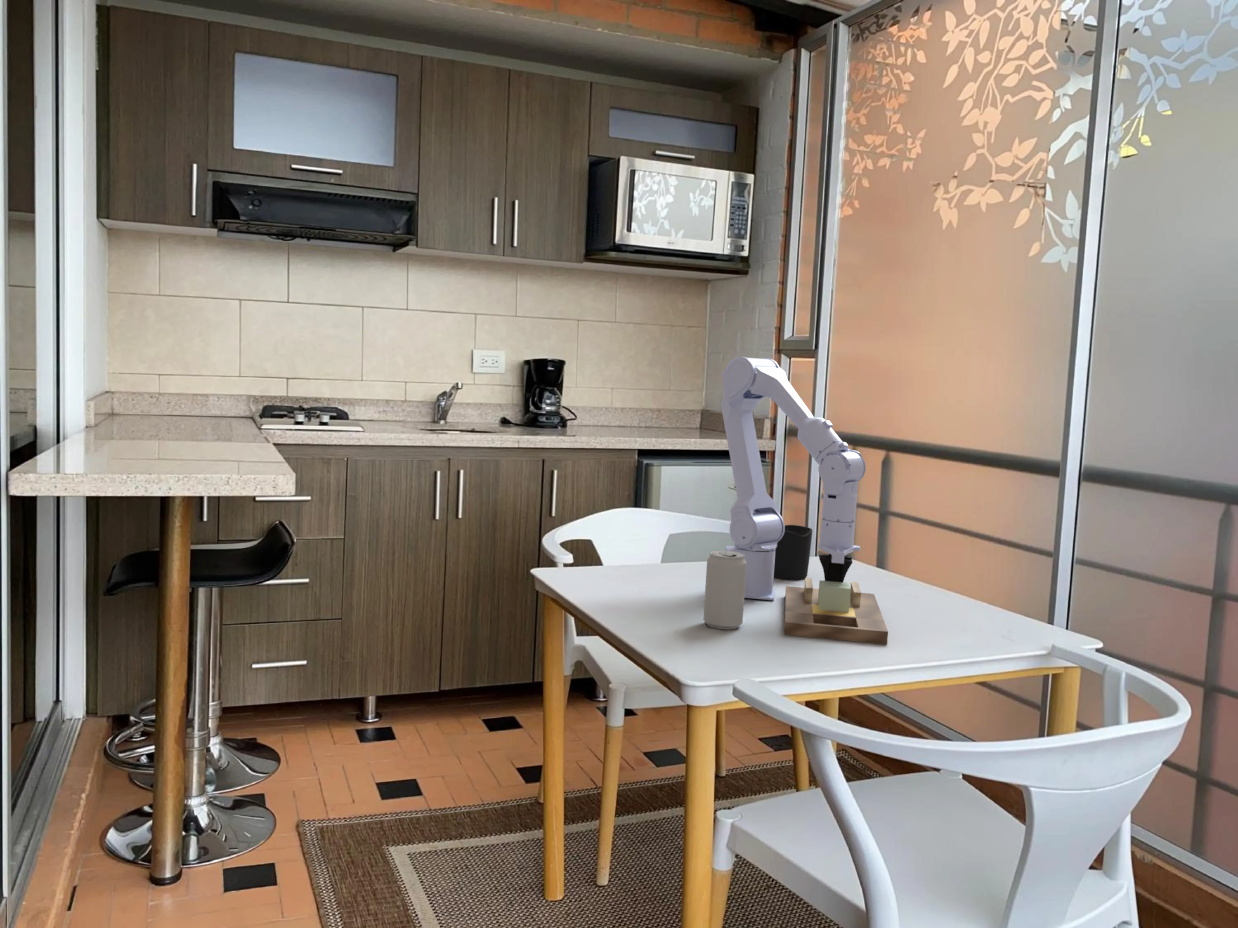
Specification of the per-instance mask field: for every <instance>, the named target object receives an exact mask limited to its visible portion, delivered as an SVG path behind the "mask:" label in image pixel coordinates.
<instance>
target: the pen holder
mask: <svg viewBox="0 0 1238 928" xmlns="http://www.w3.org/2000/svg"><path fill="white" fill-rule="evenodd" d="M812 536H813V529H812V528H811V527H808V526H802V525H796V524H785V531H784V535H783V537H782V538H781V540H780V541H778V542H777V547H776V549H775V564H774V578H773V579H778V580H785V581H791V580H792V581H799V580H805V578H808V571H809V563H810V556H811V549H812V548H811V547H812V538H813V537H812Z"/></svg>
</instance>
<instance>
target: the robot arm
mask: <svg viewBox="0 0 1238 928" xmlns="http://www.w3.org/2000/svg"><path fill="white" fill-rule="evenodd" d="M721 377H722V383H723V392H722V398H721V406H720V408H721V413H722V418H723V425H724V430H725V435H726V442H727V446H728V448H727V449H728V452H729V458H730V464H731V469H732V475H733V479H734V486H735V491H736V496H737V498H736V500H735V502H734V503H733V505H732V506H731V508H730V524H729V533H730V538H731V540H732V541H733V543H734V545H733V546H732V545H726V547H725V551H733V552H739V553H742V554H744V555H745V557H744V559H745V561H746V578H745V594H744V599H755V600H763V601H764V600H765V601H774V600H775V594H776V590H775V589H774V579H775V578H774V564H775V549H776V547H777V542H778V541H780V540H781V538H782V537H783V535H784V531H785V525H786V524H785V521H784V519H783V517H782V515H781V514H780V512H779V510H778V506H777V502H776V501H775V500H774V499H773V498H772V497H771V496H770V495H769V494H768V491H767V487H766V481H765V475H764V471H763V465H762V460H761V454H760V449H759V443H758V436H757V432H756V431H757V430H756V428H755V427H756V426H755V422H754V421H755V420H754V417H753V416H754V415H753V411H754V409H755V408H756V407H757V405H758V404H759V403H760V402H761V401H763V399H764V398H769V399H771V400H772V401H773V402H774V403H775V404H776V406H777V407H778V408H779V409H781V411H782V412H783V413H784V414H785V415H786V417H787V418H788V419H789V421H791V422H792V423H793V424H794V426H796V427H797V428H798V429H797V428H796V429H797V439H798V441H799V442H800V444H802V446H803V447H804V448H805V450H806V451H807V452H808V453H809V455H811V457H812V458H813V459H814V461H815V462H816V464H817V465H818V473H819V477H820V478H821V480H822V484H823V485H822V490H823V497H822V512H821V524H820V536H819V537H820V538H819V542H818V549H820V550H821V551H823V552H825V553H827V554H818V558H819V561H820V564H821V567H822V569H823V570H822V571H823V576H824V577H823V578H824V581H833V582H844V581H845V579H846V578H845V577H846V575H847V573H848V571H849V569H850V568H851V566H852V564H853V557H852V556H851V555H849V554H851V553H853V552H861V546H859V545H854V543H855V541H854V540H855V529H856V528H855V527H856V516H857V503H858V489H859V481H861V479H863V478H864V476H865V473H866V467H867V466H866V462H865V459H864V458H863V456H862V453H861V452H859V451H858V450H854V449H850V448H849V445H848V443H847V442H846V441H843V440H842V439H841V438H840V437H839V435H838V434H837V433H836V432H835V430H834V429H833V428H832V427H834V425H833V423H832V422H831V420H826V419H825V418H823V417H821V416H820V417H817V416H816V417H815V416H814V415H813V413H812V411H810V409H809V408H808V407H807V404H805V403H804V400H803V399H802V398H801V397H800V396H799V394H798V392H797V391H796V390H795V387H793V386H792V384H791V383H790V381H789V380H788V378H787V374H786V371H785V370H783V368H781V367H780V366H779V364H778V362H777V361H776V360H774V359H773V358H769V357H768V358H767V357H766V358H755V357H746V356H736V357H733V358H731V360H730V361H729V362H728V363H727V365H726V367H725V368H724V370H723V371H722V372H721Z"/></svg>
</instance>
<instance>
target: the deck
mask: <svg viewBox="0 0 1238 928" xmlns="http://www.w3.org/2000/svg"><path fill="white" fill-rule="evenodd" d="M859 585H860V584H859V582H858V581H850V588H851V591H850V604H849V612H841V611H830V610H819V608H818V594H819V588H814V586H813V578H811V577H806V578H805V579H804V586H803V587H800V586H799V587H798V586H789V585H786V586H785V596H784V597H785V598H784V599H785V601H784V631H783V632H784V635H786V636H787V635H788V636H796V637H797V636H798V637H808V638H818V639H827V640H828V639H831V640H838V641H847V642H848V641H850V642H860V643H872V644H880V645H888V638H889V637H888V636H889V631H888V628H887V627H888V626H887V625H886V622H885V620H884V617H883V615H882V612H881V611H882V610H881V609H880V607H879V604H878V600H877V598H876V595H875V593H866V592H861V588H860V586H859Z"/></svg>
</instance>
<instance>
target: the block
mask: <svg viewBox="0 0 1238 928" xmlns="http://www.w3.org/2000/svg"><path fill="white" fill-rule="evenodd" d="M818 583H819V585H818V589H819V594H818V608H819V610H830V611H841V612H849V604H850V591H851V584H850V583H849V582H844V581H843V582H833V581H825V580H821V579H820V580H819V582H818Z"/></svg>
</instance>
